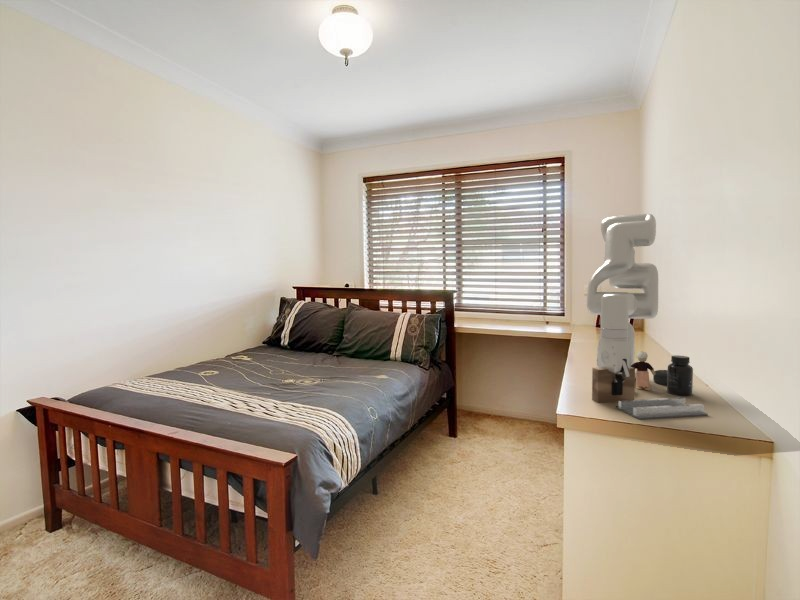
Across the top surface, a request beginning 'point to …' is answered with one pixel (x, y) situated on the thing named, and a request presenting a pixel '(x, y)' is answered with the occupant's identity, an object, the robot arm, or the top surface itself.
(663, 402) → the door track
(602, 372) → the walnut door panel
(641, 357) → the grandmother figurine
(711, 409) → the top surface
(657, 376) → the smart speaker
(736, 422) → the top surface
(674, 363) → the supplement bottle
